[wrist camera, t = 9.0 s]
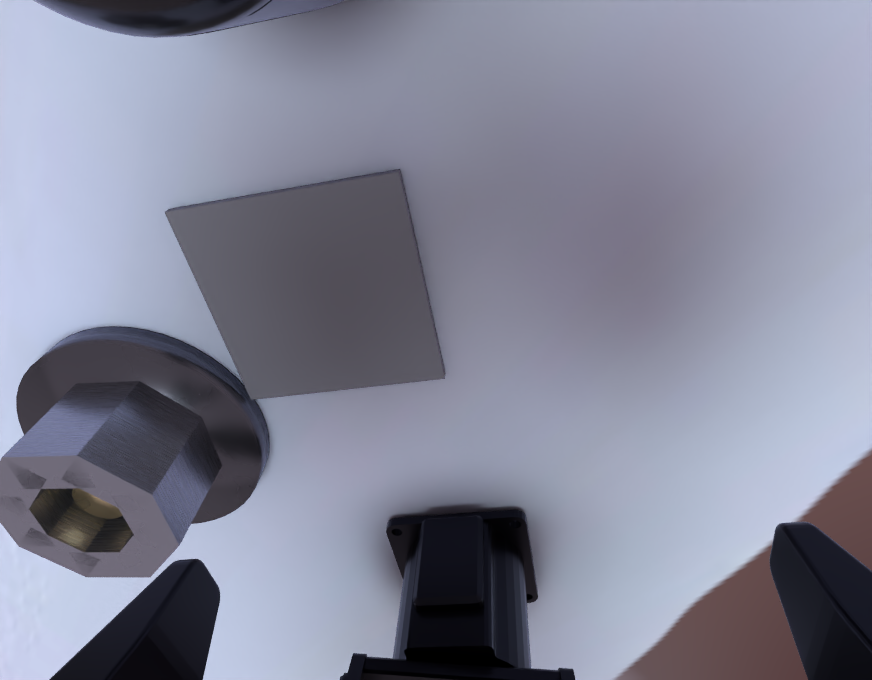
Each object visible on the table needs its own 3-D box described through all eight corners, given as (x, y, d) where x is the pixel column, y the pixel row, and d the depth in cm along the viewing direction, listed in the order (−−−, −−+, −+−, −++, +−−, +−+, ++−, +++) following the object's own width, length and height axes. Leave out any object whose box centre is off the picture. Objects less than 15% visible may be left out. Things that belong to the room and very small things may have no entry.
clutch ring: (243, 440, 23) (201, 520, 20) (177, 517, 26) (131, 597, 22) (93, 353, 21) (18, 425, 18) (40, 446, 24) (-33, 523, 21)
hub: (299, 495, 26) (270, 576, 23) (109, 510, 28) (54, 588, 24) (215, 311, 21) (161, 378, 17) (-13, 343, 23) (-105, 410, 19)
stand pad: (445, 373, 22) (444, 378, 22) (253, 395, 23) (251, 399, 23) (399, 169, 18) (398, 171, 17) (169, 209, 19) (164, 212, 19)
